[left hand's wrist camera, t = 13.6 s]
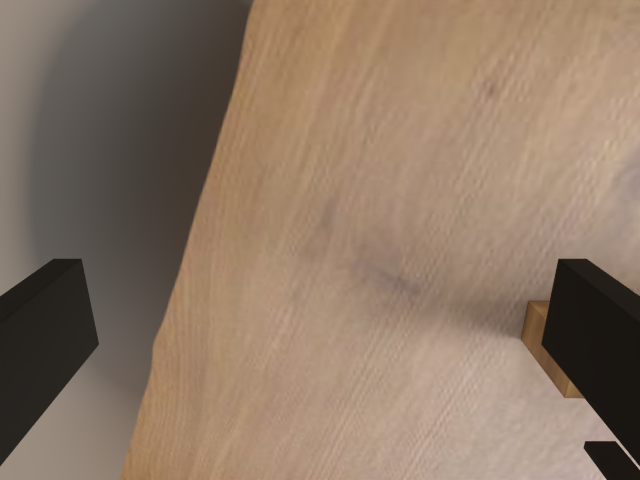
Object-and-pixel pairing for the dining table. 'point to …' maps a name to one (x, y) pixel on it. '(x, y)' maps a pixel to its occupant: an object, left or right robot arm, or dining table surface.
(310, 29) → the dining table surface
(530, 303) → the bar
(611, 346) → the left robot arm
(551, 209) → the dining table surface
